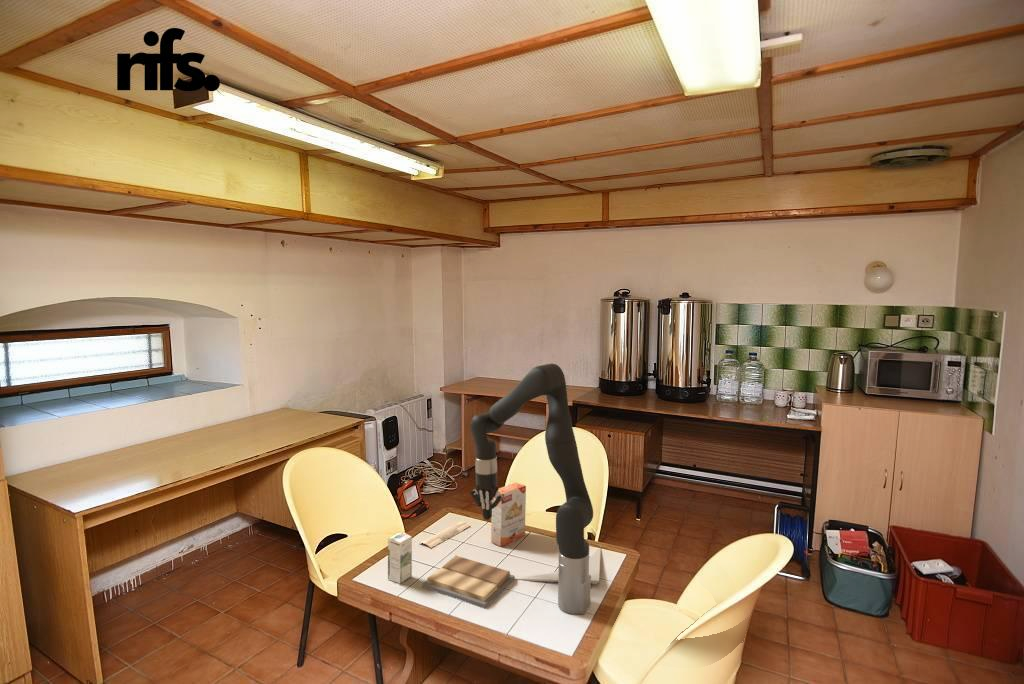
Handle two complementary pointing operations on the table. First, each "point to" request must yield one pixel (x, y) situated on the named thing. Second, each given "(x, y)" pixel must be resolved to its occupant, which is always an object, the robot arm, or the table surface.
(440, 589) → the board
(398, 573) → the syrup box
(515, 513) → the cracker box
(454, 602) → the table surface
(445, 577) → the oak plank
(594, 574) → the corner molding
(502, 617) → the table surface
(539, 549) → the table surface
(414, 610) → the table surface
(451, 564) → the walnut plank
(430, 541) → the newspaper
